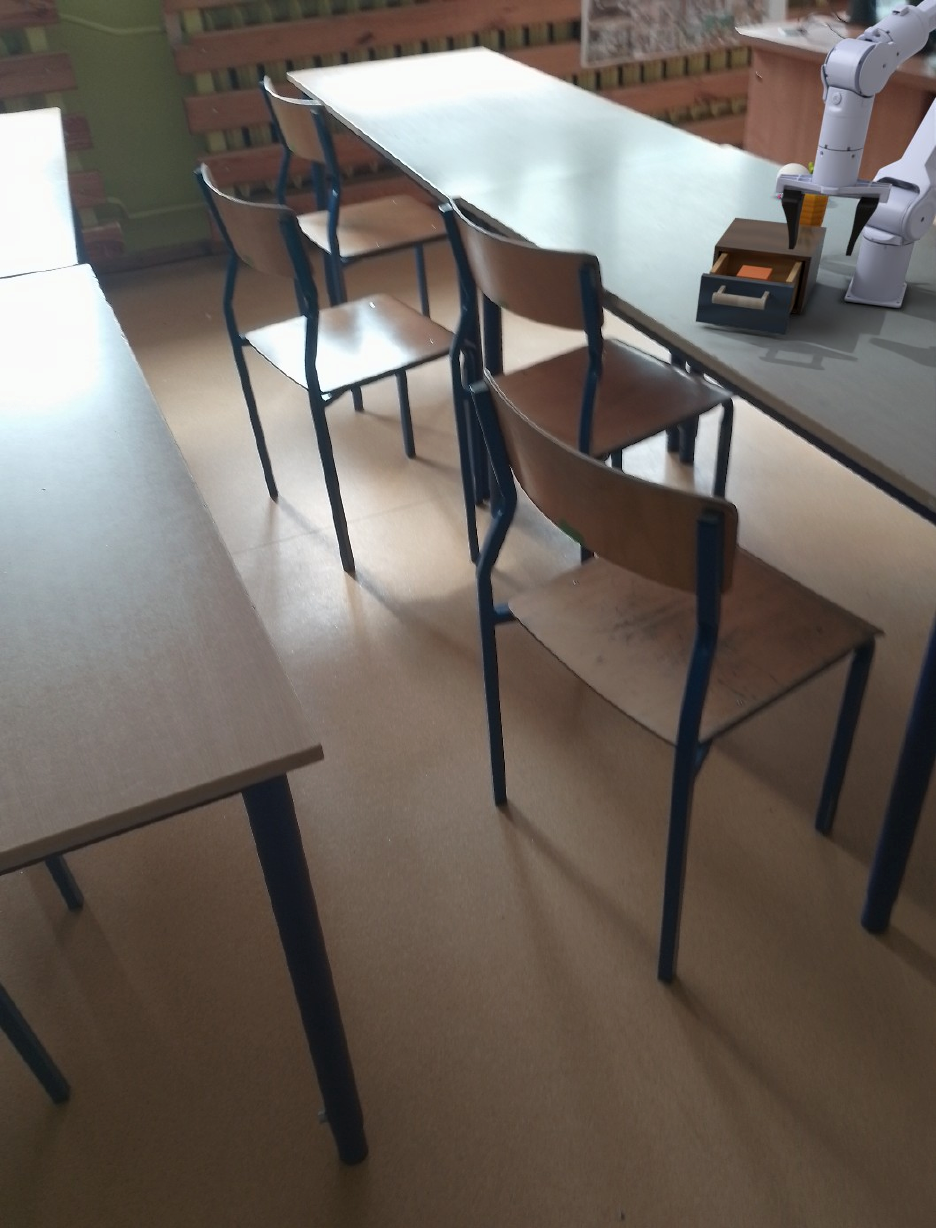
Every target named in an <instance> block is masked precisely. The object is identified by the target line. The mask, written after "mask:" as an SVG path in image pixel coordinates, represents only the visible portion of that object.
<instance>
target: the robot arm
mask: <svg viewBox="0 0 936 1228" xmlns="http://www.w3.org/2000/svg"><path fill="white" fill-rule="evenodd" d="M934 30H936V0H923V1H921V2H920V3H919V4H918V5H917V6H915V5H913V4H906V5H905V4H898V5H896V6H895V7H893V8H892V9H891V13H890V14H888V15H887V16H886V17H884V18H883V19H881V20H880V21H879V22H877V23H876V24H874V25H873V26H869V27H868V28H866V29H865V30H864V32H863V33H861V34H860V35H859V36H857V37H856V38H851V37H850V38H849V37H847V38H844V39H842V40H840V41H839V42H837V43H836V44H835V45H834V46H832V47H831V48H830V50H829V52H828V53H827V56H826V58H825V60H824V63H823V64H821V68H820V79H821V83H822V85H823V92H822V93H823V94H822V100H823V104H824V111H823V117H822V122H821V126H820V133H819V139H818V144H817V148H816V149H817V150H816V154H815V160H814V164H813V165H814V171H813V174H807V175H789V174H780V175H779V177H778V178H777V177H776V185H775V190H774V191H775V193H777V194H781V193H782V197H781V198H780V199H781V200H780V203H781V208H782V210H783V212H784V217H785V221H786V223H787V226H788V235H789V248H788V249H794V248H795V246H796V242H797V238H798V229H799V221H800V215H801V210H802V206H803V201H804V197H805V194H812V195H823V196H829V197H833V198H843V199H844V198H845V199H855V200H857V201H856V205H855V211H854V218H853V223H852V229H851V233H850V236H849V240H848V242H847V245H846V250H845V251H846V252H845V256H846V257H852V255H853V252H854V248H855V245H856V244H857V243H856V242H857V240H858V239H859V236H860V235H861V234H862V237H861V242H860V246H859V250H858V256H857V260H856V263H855V269H854V274H853V277H852V278H851V281H850V283H849V286H848V287H847V291H846V293H845V296H844V302H850V303H856V304H864V305H870V306H871V305H872V306H878V307H879V306H880V307H887V308H895V309H899V308H901V307H902V304H903V300H904V297H905V293H906V290H907V286H908V283H906V282H905V281H906V277H907V273H908V270H909V266H910V261H911V257H912V254H913V250H914V246H915V242H917V241H920V240H921V239H922V238H923V237H924V236H925V235H926V234H927V233H928V232H929V230H930V229H931V227H932V226H933V224H934V221H935V220H936V97H935V98H934V100H933V101H932V103H931V105H930V107H929V109H928V110H927V112H926V114H925V116H924V118H923V119H922V121H921V123H920V124H919V127H918V128H917V130H916V132H915V134H914V136H913V137H912V139H911V141H910V143H909V144H908V146H907V148H906V149H905V151H904V153H903V155H902V157H901V158H900V159H898V160H896V161H894V162H892V163H890V164H888V165H885V166H883V167H881V168H880V169H878V172H877V173H876V175H875V177H874V178H873V180H869V179H865V178H859V172H860V168H861V164H862V159H863V153H864V149H865V144H866V139H867V135H868V130H869V125H870V121H871V117H872V111H873V106H874V101H875V98H876V94H879V93H880V92H881V91H882V90H883V89H884V87H885V86H886V85H887V82H888V80H889V78H890V77H891V76H892V74H894V73H895V72H896V71H895V70H896V69H897V68H898V67H899V66H900V65H902V64H903V63H904V62H906V61H907V60H908V59H909V58H911V57H913V56H914V55H915V54H917V53H918V52H920V51H921V50H922V49H923V48H924V47H925V46H926V44H927V42H928V40H929V36H930V33H931V32H933V31H934Z"/></svg>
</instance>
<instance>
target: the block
mask: <svg viewBox="0 0 936 1228" xmlns="http://www.w3.org/2000/svg"><path fill="white" fill-rule="evenodd" d="M771 275H772V269H770V268H762V267H754V266H746V265H743V266H742V268H741V269H740V271H739V273H738V274H737V277H739V278H747V279H755V280H763V281H771Z"/></svg>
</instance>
